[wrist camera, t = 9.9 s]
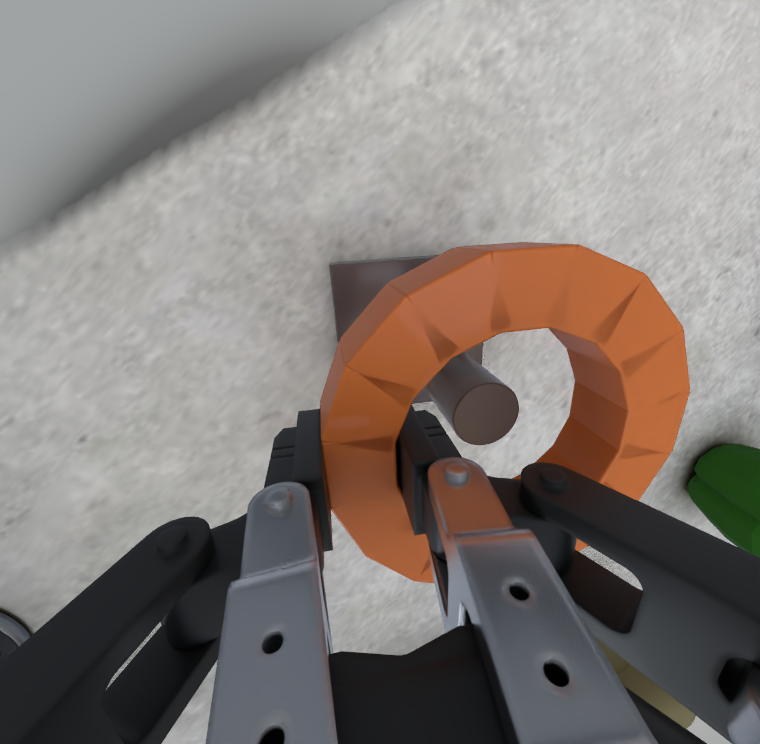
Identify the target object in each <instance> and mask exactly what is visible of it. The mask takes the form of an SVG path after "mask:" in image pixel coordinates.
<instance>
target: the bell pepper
mask: <svg viewBox="0 0 760 744" xmlns="http://www.w3.org/2000/svg"><path fill="white" fill-rule="evenodd" d="M694 470H695V472H696V475H695V476H694V477H693V478H692V479H691V480H690V482H689V484H688V486H687V488H686V489H687V491H688V493H689V496H690V498H691V499H692V500H693V502H694V503H695V504H696V506H697V507H698V508H699V509H700V510H701V511H702V513H703V514H704V515H705V516H706V517H707V518H708V520H709V521H710V522H711V523H712V524H713V525H714V526H715V527H716V528H717V529H718V530H719V531H720V532H721V533H722V534H723V535H724V536H725V537H726V538H727V539H728V540H729V541H731V542H732V543H733V544H735V545H736V546H737V547H738V548H740V549H742V550H744V551H746V552H749V553H751V554H753V555H755V556H757V557H759V558H760V449H757V448H753V447H749V446H745V445H741V444H726V445H722V446H719V447H715V448H712V449H711V450H710V451H708V452H707V453H706V454H704V455H703V456H702V457H700V458H699V460H698V462H697V464H696V466H695V467H694Z"/></svg>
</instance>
